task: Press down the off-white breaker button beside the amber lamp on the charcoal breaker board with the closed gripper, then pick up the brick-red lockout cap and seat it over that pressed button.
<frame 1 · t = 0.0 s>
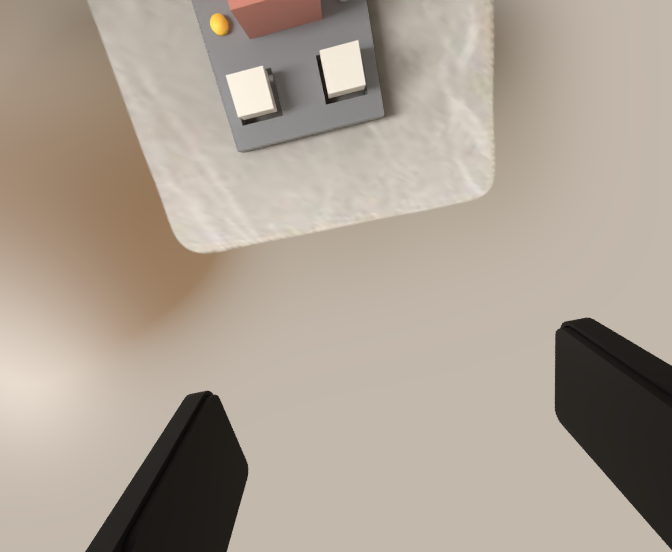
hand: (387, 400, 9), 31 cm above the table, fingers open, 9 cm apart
breaker a: (342, 70, 30), point 4 cm above the table, slide at 0.0 cm
breaker board: (291, 47, 32), on the table
breaker b: (252, 94, 31), point 4 cm above the table, slide at 0.0 cm
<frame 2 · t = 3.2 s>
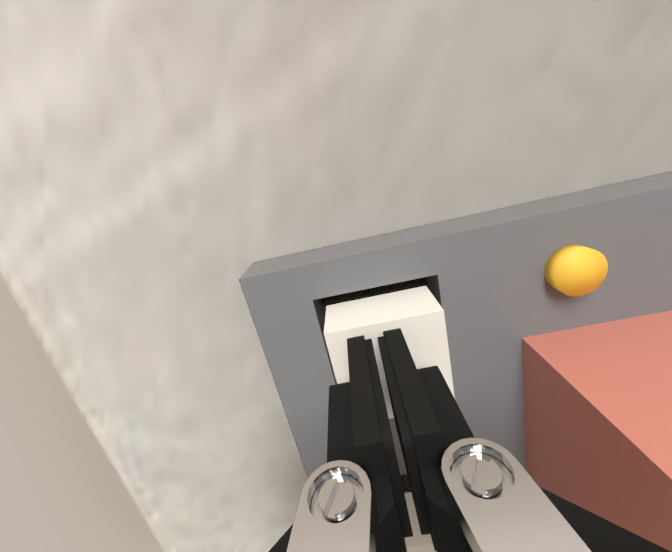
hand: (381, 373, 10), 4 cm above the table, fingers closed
breaker a: (426, 545, 13), point 3 cm above the table, slide at 0.0 cm
lockout cap: (618, 399, 12), point 2 cm above the table, touching breaker board
breaker board: (480, 385, 15), on the table
breaker b: (388, 354, 11), point 3 cm above the table, slide at 0.7 cm, touching gripper
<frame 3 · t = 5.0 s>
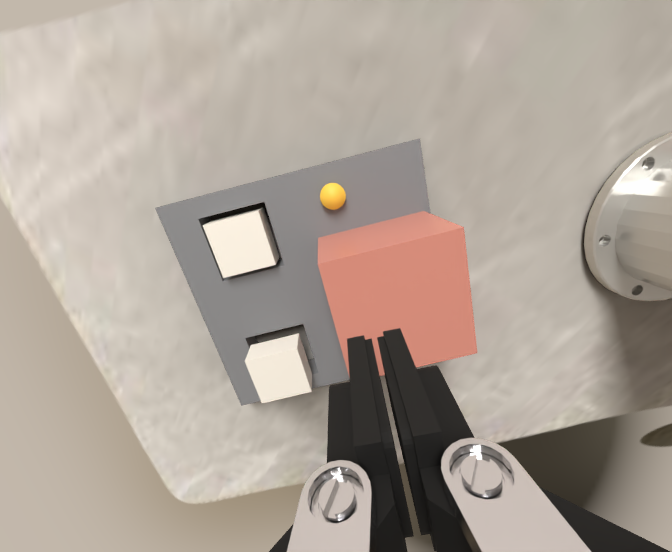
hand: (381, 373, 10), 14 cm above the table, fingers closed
breaker a: (280, 367, 22), point 3 cm above the table, slide at 0.0 cm
lockout cap: (381, 274, 22), point 2 cm above the table, touching breaker board
breaker board: (318, 280, 24), on the table
breaker b: (243, 242, 21), point 2 cm above the table, slide at 1.8 cm
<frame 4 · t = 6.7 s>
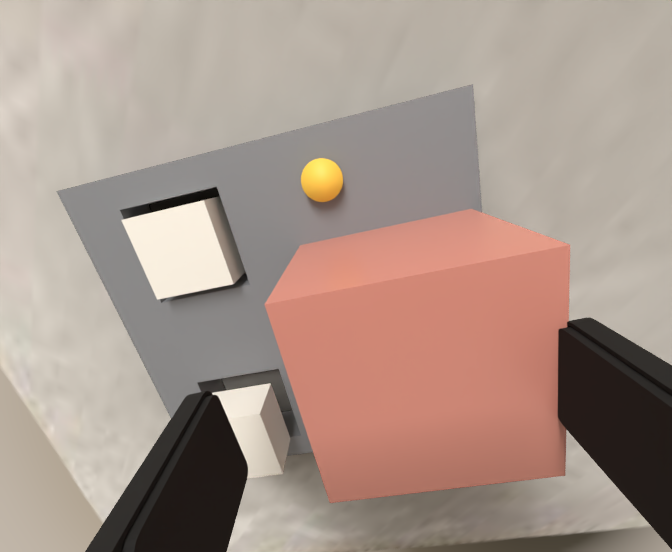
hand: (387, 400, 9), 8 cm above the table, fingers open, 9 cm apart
breaker a: (241, 432, 15), point 3 cm above the table, slide at 0.0 cm
lockout cap: (396, 304, 14), point 2 cm above the table, touching breaker board, gripper
breaker board: (306, 304, 17), on the table
breaker b: (190, 246, 14), point 2 cm above the table, slide at 1.8 cm
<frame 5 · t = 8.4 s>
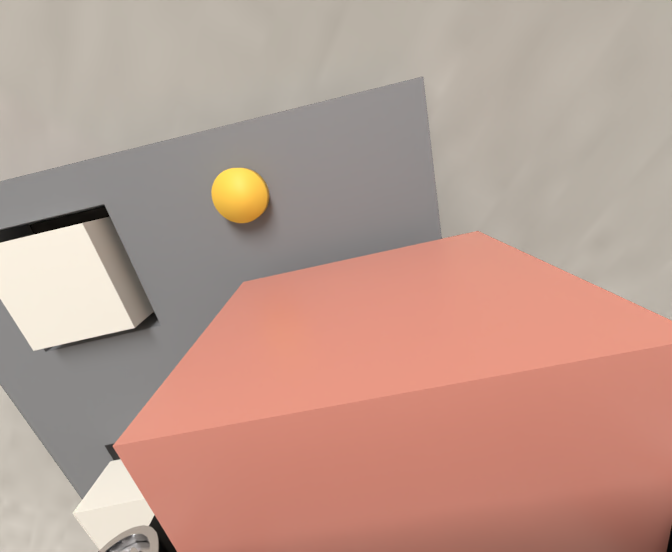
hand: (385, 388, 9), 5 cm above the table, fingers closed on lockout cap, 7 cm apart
breaker a: (158, 508, 12), point 3 cm above the table, slide at 0.0 cm
lockout cap: (378, 357, 11), point 3 cm above the table, touching gripper
breaker board: (243, 340, 14), on the table
breaker b: (79, 280, 11), point 2 cm above the table, slide at 1.8 cm
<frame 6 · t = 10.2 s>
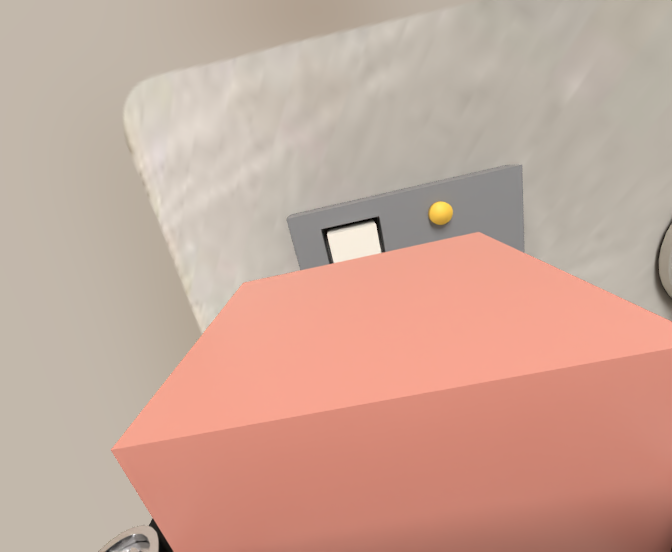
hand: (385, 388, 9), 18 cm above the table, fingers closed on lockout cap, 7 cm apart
lockout cap: (378, 358, 11), point 16 cm above the table, touching gripper
breaker board: (410, 284, 27), on the table
breaker b: (355, 249, 24), point 2 cm above the table, slide at 1.8 cm
when the fingers open (4 cm above the table, at t = 13.1 s): lockout cap stays where it is, resting on breaker board.
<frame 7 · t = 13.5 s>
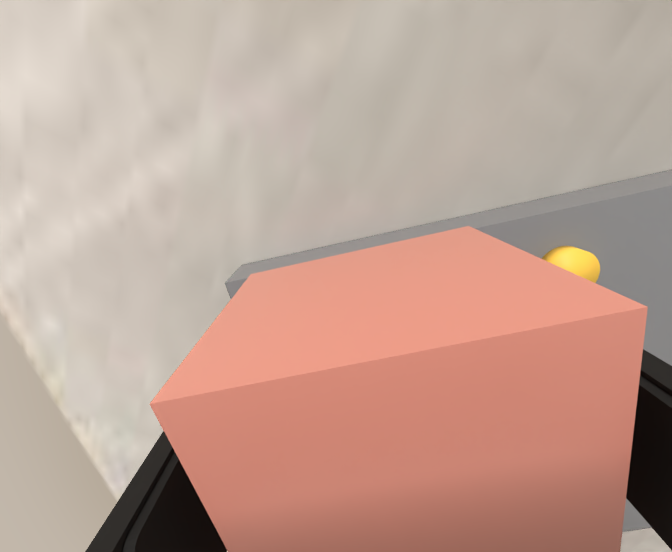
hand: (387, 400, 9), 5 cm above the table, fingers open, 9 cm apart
lockout cap: (376, 344, 11), point 2 cm above the table, touching breaker board
breaker board: (473, 387, 14), on the table
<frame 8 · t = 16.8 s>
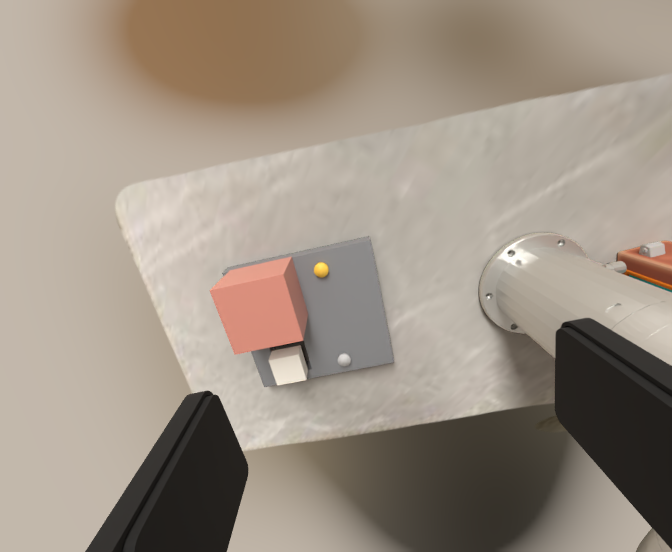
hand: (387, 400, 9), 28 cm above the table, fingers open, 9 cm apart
breaker a: (288, 365, 38), point 3 cm above the table, slide at 0.0 cm
lockout cap: (270, 292, 36), point 2 cm above the table, touching breaker board
breaker board: (314, 312, 39), on the table
control panel: (637, 292, 38), on the table
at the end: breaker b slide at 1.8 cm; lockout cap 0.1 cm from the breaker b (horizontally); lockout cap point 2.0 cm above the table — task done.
